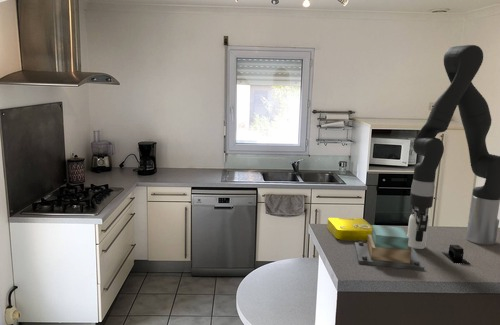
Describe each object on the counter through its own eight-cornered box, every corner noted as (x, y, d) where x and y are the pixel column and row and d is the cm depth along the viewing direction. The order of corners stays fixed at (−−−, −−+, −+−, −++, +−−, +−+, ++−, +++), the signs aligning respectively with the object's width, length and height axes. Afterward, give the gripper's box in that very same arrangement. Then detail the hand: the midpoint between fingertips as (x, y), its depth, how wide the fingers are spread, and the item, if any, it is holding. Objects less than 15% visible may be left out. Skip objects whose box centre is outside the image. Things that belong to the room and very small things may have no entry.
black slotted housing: (475, 267, 134) (477, 254, 133) (452, 266, 133) (454, 253, 133) (456, 252, 146) (457, 240, 145) (435, 251, 146) (437, 239, 145)
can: (425, 245, 150) (429, 213, 148) (424, 251, 144) (429, 218, 142) (406, 241, 153) (410, 210, 150) (405, 247, 147) (409, 215, 145)
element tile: (361, 227, 167) (362, 216, 166) (376, 241, 152) (377, 229, 152) (325, 227, 166) (326, 216, 165) (337, 241, 151) (338, 229, 150)
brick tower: (412, 250, 144) (416, 226, 142) (424, 270, 128) (427, 243, 127) (354, 244, 147) (356, 220, 145) (358, 263, 132) (361, 236, 130)
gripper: (439, 199, 137) (432, 246, 140) (428, 188, 151) (422, 232, 154) (415, 197, 139) (409, 244, 142) (406, 187, 152) (401, 230, 156)
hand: (416, 237), depth 148 cm, fingers closed on can, 6 cm apart
